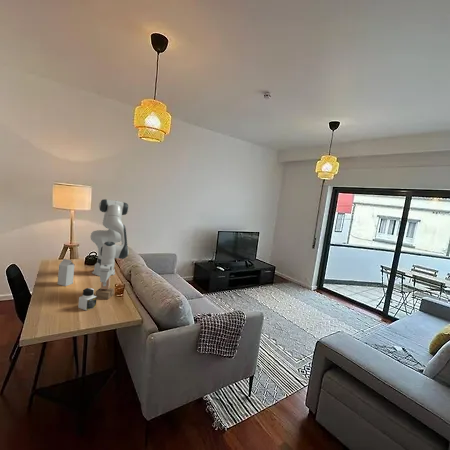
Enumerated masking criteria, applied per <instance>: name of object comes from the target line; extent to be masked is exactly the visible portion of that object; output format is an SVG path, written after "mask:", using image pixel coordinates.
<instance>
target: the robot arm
mask: <svg viewBox="0 0 450 450" xmlns="http://www.w3.org/2000/svg"><path fill="white" fill-rule="evenodd" d="M98 208H99V211H100V212H101V213H104V215H103V219H102V225H103V227H104V228H106V230H105V229H103V230H102V229H98V230H93V231H92V232H91V233H90V240H91V242H93V243H94V244H95V245H96V246H97V252H98V253H97V257H96V258H97V259H96V263H95V264H94V269H93V271H91V274H93V275H95V276H98V277H99V280H100V283H101V282H103V286H106V281H107V280H108V278H109V277H111V276H114V275H116V272H115V271H116V269H115V262H116V261H115V260H116V259H121V260H124V259H126V258H127V257H128V256H129V247H128V240H127V239H128V238H127V237H128V236H127V235H128V234H127V228H126V226H125V224H123V221H122V220H123V219H122V217H123V216H125V215H127V214H128V212H129V209H130V208H129V204H128V203H126V202H123V201H120V200H113V199H106V198H105V199H101V200H100V202H99V204H98ZM116 243H117V244H116ZM118 243H121V244H118Z"/></svg>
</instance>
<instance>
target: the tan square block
mask: <svg viewBox="0 0 450 450" xmlns="http://www.w3.org/2000/svg"><path fill="white" fill-rule="evenodd" d="M114 291H115V288H113V287H109V289H101V287H99V288H98V289H97V290H95V292H94V293H95V294H94V296H96V297H97V298H96V299H101V300H109V299H110V298H112V296H114Z"/></svg>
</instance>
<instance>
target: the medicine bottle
mask: <svg viewBox="0 0 450 450" xmlns="http://www.w3.org/2000/svg"><path fill="white" fill-rule="evenodd" d="M94 293H95V289H94V288H92V287H87V288H84V289H83V290H82V295H81V296H79V297H78V307H77V308H78V309H80V310H84V311H89V310H91V309H94V308H96V306H97V299H98V298H97V297H96V296H95V294H94Z"/></svg>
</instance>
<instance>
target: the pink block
mask: <svg viewBox="0 0 450 450" xmlns="http://www.w3.org/2000/svg"><path fill="white" fill-rule="evenodd" d="M111 279H112V278H111V276H110V277H109V278H108V280H107V281H106V286H103V282H100V283H101V284H100V288H101V289H109V288H111Z"/></svg>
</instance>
